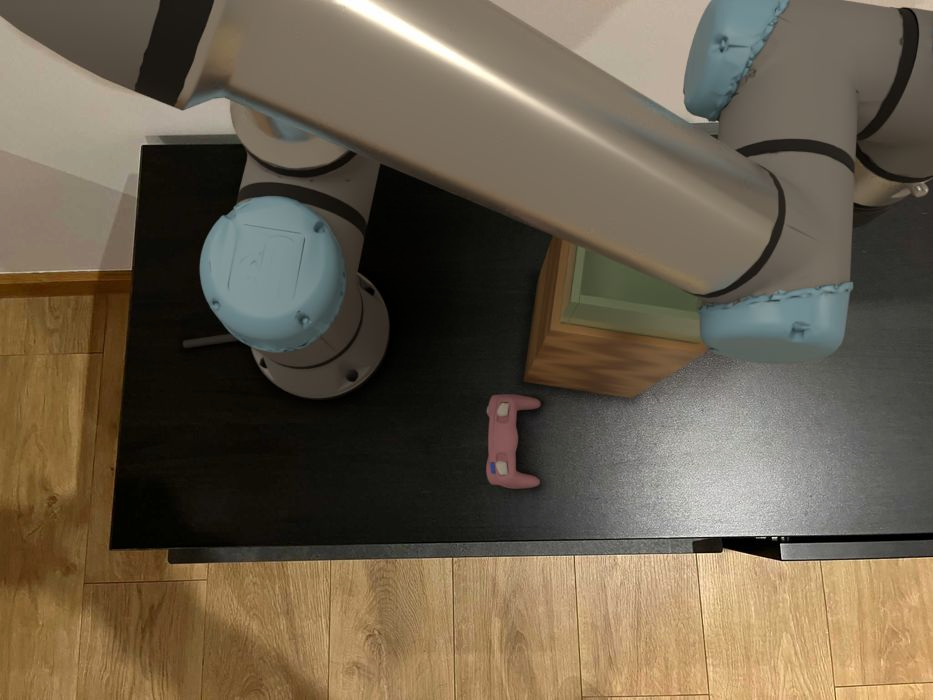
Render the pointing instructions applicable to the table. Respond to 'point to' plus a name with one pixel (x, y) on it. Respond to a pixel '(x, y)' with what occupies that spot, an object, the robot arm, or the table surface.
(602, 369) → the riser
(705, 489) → the table surface
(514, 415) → the video game controller
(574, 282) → the box
